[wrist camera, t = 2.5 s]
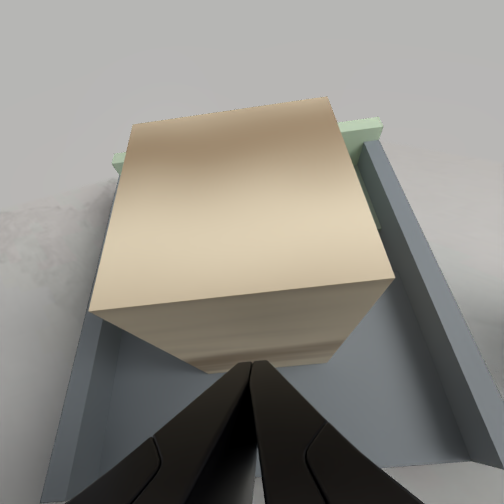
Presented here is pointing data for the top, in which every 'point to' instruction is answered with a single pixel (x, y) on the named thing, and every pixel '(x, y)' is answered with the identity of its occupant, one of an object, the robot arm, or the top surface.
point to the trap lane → (313, 375)
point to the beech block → (241, 238)
